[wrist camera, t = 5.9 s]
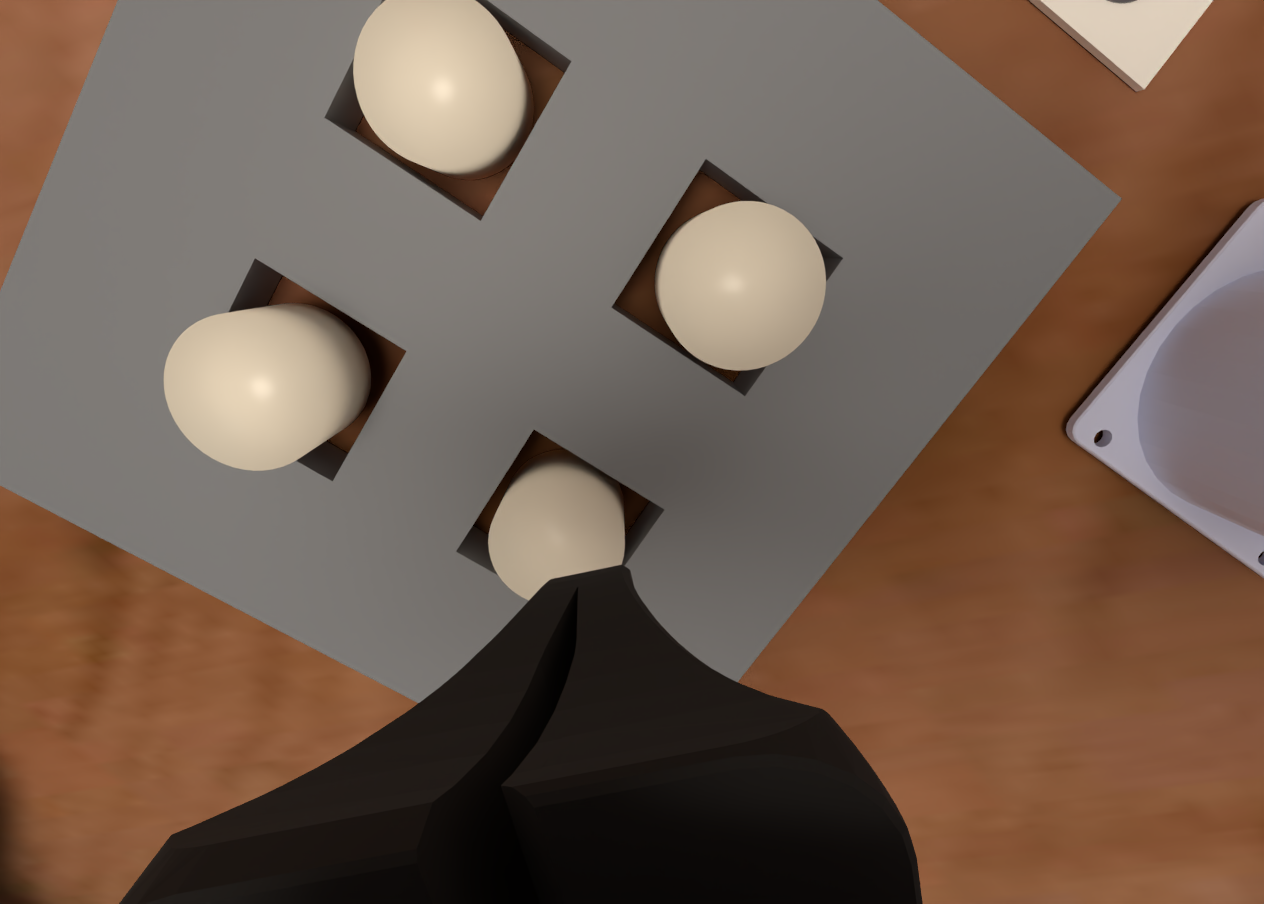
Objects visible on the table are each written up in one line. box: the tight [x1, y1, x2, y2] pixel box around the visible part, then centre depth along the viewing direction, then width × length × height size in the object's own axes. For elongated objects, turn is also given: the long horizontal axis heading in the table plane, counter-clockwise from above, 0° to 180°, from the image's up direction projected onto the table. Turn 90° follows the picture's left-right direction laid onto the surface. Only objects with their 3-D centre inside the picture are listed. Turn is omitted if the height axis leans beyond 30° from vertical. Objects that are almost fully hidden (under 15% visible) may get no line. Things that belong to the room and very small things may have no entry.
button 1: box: [655, 201, 826, 370], centre depth 17 cm, size 4×4×3 cm
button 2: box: [488, 450, 625, 600], centre depth 20 cm, size 4×4×3 cm
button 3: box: [353, 0, 534, 180], centre depth 17 cm, size 4×4×3 cm
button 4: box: [164, 303, 371, 471], centre depth 17 cm, size 4×4×3 cm
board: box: [0, 0, 1122, 703], centre depth 19 cm, size 22×22×2 cm
